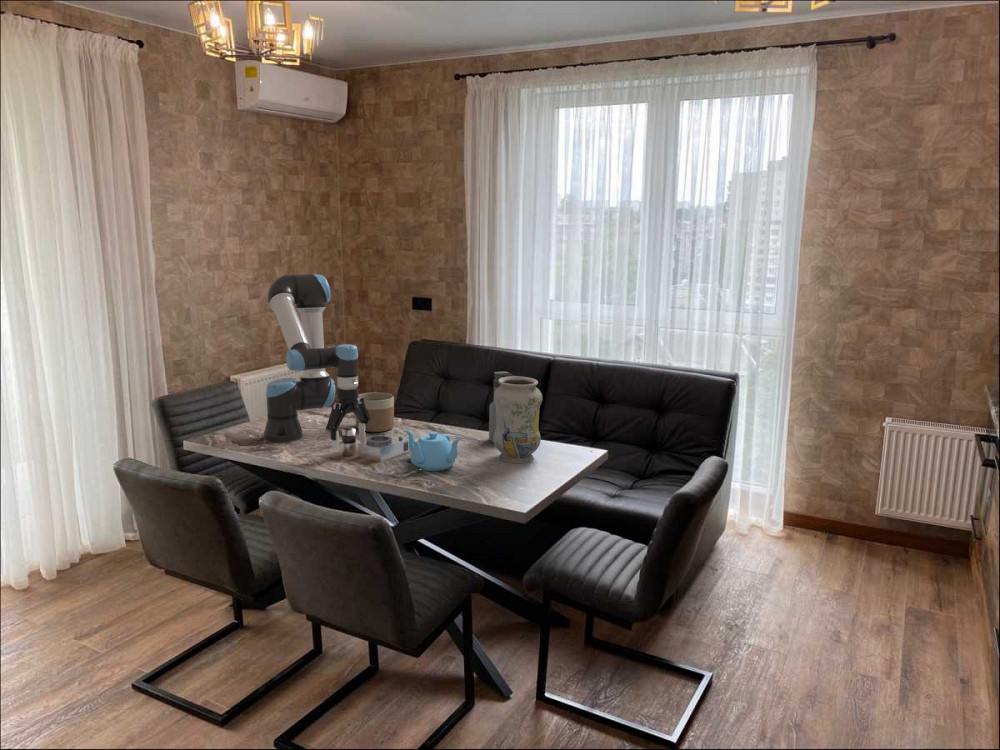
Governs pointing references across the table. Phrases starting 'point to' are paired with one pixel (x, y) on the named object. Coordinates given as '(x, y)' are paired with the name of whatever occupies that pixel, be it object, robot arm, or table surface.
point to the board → (366, 461)
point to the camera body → (382, 447)
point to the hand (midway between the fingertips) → (349, 444)
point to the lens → (348, 441)
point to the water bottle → (492, 406)
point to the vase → (517, 418)
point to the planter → (378, 411)
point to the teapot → (432, 451)
